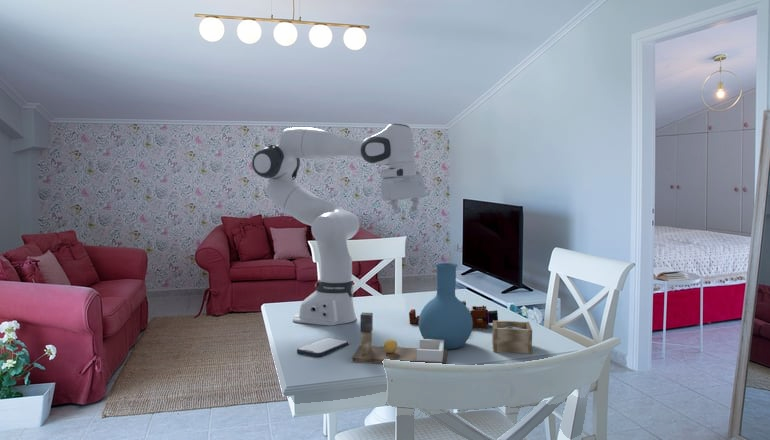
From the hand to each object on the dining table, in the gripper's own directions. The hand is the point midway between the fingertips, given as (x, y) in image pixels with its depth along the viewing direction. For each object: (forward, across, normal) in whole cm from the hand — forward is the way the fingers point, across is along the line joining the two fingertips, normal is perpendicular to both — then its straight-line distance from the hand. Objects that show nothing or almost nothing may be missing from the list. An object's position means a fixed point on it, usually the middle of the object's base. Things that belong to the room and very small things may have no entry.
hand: (406, 212), depth 197 cm
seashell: (+42, 0, +36) cm, 56 cm away
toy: (+41, -12, +7) cm, 44 cm away
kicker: (+38, +34, +8) cm, 52 cm away
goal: (+39, +25, +24) cm, 52 cm away
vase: (+41, +10, +19) cm, 46 cm away
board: (+40, +29, +17) cm, 52 cm away
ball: (+36, +30, +14) cm, 50 cm away
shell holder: (+42, 0, +36) cm, 56 cm away
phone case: (+38, +37, -6) cm, 54 cm away
